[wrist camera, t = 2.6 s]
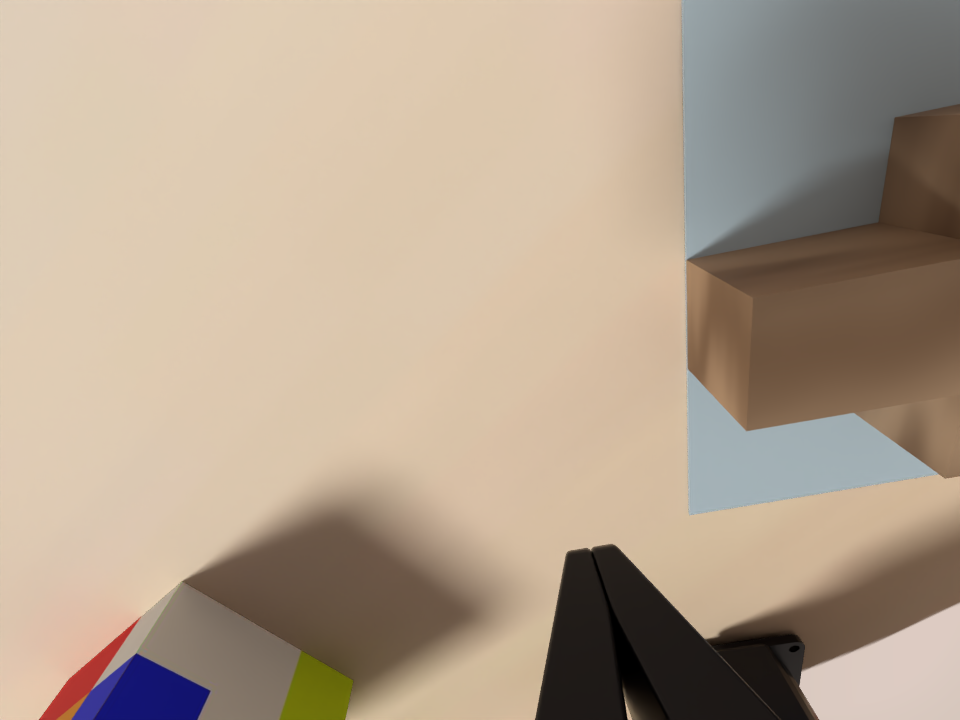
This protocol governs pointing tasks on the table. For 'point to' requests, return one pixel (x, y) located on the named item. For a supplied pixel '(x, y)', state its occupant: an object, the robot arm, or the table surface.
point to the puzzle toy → (201, 671)
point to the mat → (797, 192)
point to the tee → (848, 310)
